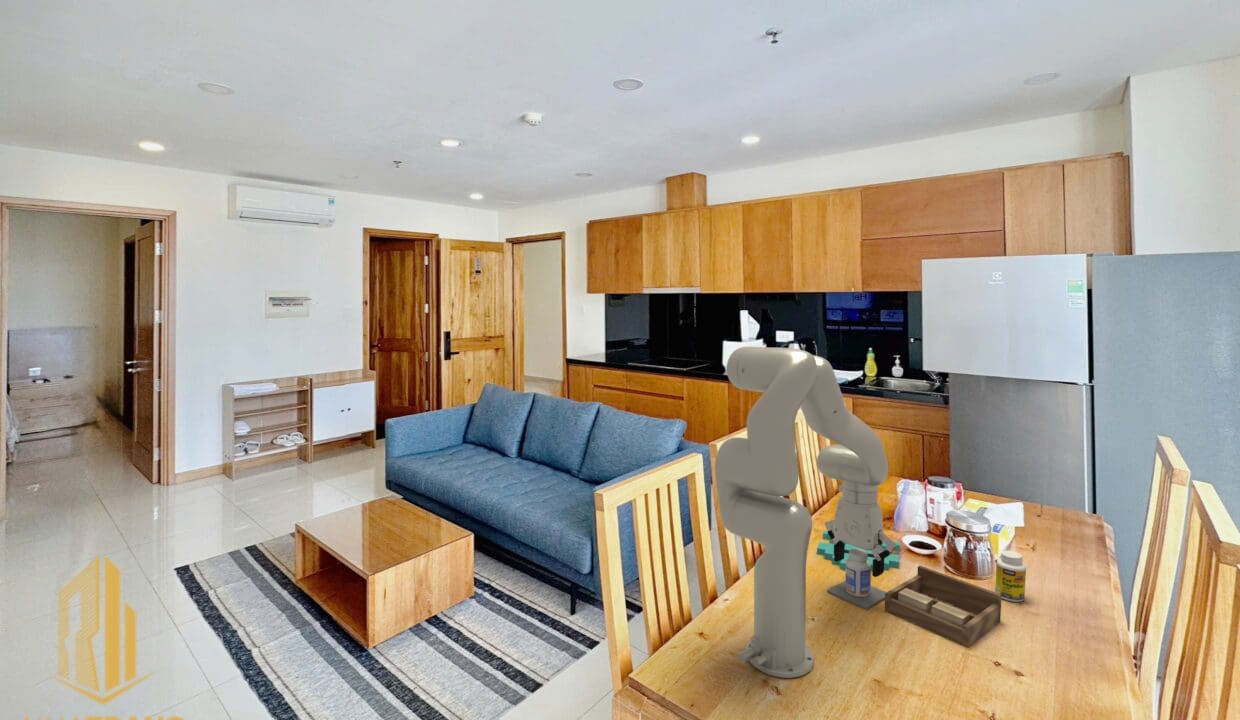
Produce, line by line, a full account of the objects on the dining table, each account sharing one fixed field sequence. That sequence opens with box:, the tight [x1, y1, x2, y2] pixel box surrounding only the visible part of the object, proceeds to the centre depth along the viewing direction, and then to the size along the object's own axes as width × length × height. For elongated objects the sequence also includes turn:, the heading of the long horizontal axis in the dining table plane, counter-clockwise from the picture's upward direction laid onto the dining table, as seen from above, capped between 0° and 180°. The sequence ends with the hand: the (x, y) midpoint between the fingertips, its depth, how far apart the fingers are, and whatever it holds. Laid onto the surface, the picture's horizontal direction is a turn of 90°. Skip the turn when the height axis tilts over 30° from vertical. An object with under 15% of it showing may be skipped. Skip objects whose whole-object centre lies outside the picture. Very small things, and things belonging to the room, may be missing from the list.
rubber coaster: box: [826, 580, 887, 611], centre depth 131 cm, size 10×10×1 cm
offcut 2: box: [932, 601, 970, 628], centre depth 115 cm, size 3×6×4 cm, turn 35°
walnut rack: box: [884, 565, 1002, 648], centre depth 121 cm, size 15×17×6 cm
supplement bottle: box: [994, 550, 1027, 603], centre depth 128 cm, size 6×6×10 cm
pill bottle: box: [845, 549, 872, 597], centre depth 130 cm, size 5×5×10 cm
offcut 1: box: [898, 588, 934, 615], centre depth 121 cm, size 3×6×4 cm, turn 35°
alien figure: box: [816, 530, 901, 572], centre depth 150 cm, size 20×2×20 cm
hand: (857, 567), depth 130 cm, fingers open, 9 cm apart
